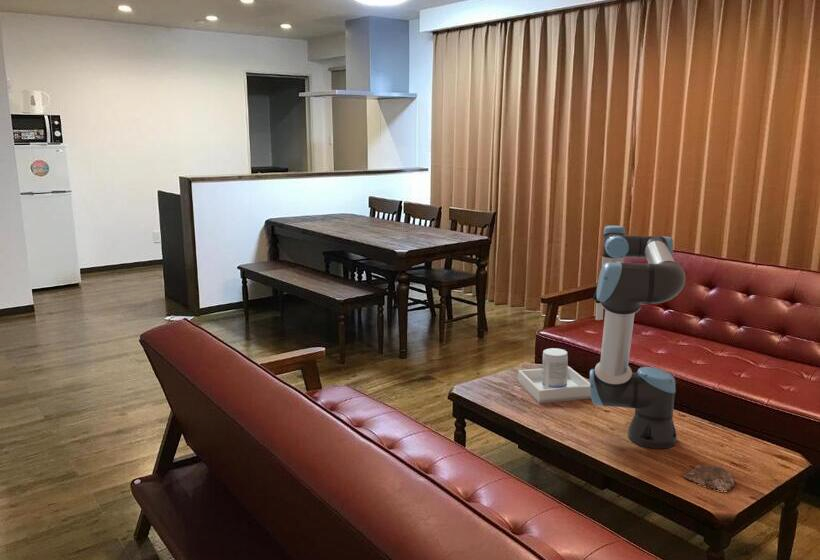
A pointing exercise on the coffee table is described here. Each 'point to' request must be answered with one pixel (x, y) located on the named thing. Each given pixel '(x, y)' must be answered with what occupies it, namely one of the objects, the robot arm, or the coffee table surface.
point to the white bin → (573, 391)
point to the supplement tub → (554, 368)
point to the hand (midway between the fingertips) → (608, 324)
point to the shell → (711, 477)
